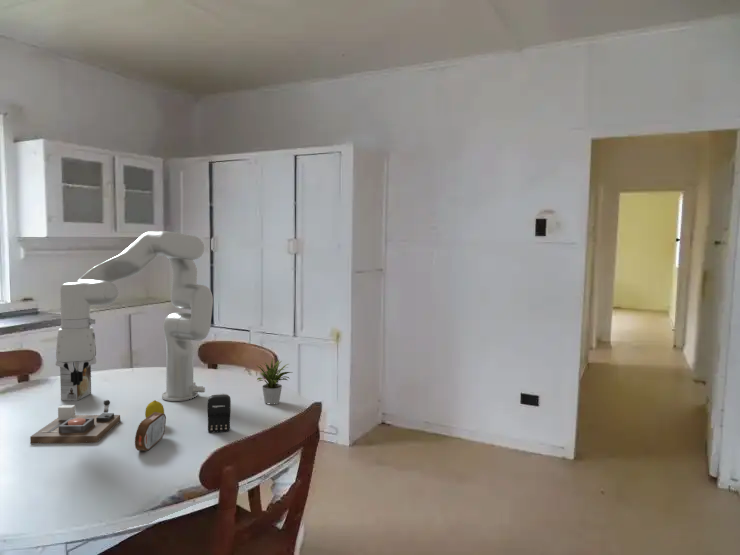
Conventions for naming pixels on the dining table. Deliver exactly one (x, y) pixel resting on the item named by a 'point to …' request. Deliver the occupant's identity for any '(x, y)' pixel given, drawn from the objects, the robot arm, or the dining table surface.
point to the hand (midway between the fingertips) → (77, 384)
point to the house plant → (272, 382)
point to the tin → (150, 431)
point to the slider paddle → (66, 412)
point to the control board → (76, 430)
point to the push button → (77, 421)
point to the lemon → (154, 408)
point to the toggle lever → (106, 406)
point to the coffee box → (77, 390)
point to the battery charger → (219, 412)
